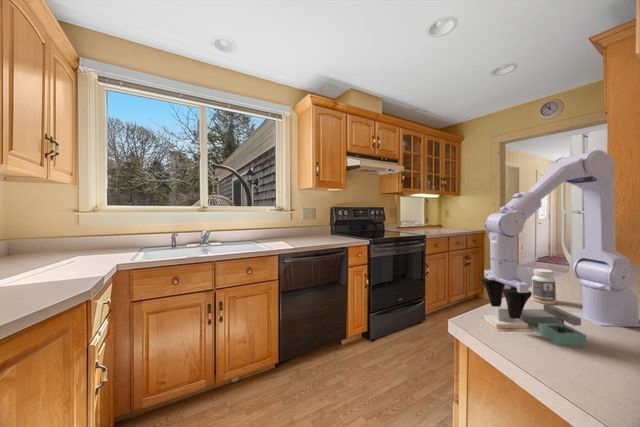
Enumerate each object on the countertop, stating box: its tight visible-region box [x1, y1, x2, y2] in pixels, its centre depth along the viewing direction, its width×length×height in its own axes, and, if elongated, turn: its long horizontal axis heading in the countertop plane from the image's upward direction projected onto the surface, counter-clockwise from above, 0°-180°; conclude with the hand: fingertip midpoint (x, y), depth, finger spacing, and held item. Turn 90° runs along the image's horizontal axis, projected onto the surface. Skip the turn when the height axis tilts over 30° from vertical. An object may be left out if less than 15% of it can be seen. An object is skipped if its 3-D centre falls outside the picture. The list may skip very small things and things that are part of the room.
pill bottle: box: [531, 268, 557, 305], centre depth 81 cm, size 6×6×10 cm
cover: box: [483, 306, 529, 328], centre depth 66 cm, size 7×5×4 cm
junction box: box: [520, 308, 558, 327], centre depth 67 cm, size 7×5×2 cm
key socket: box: [536, 323, 589, 347], centre depth 58 cm, size 6×6×2 cm
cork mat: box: [480, 316, 534, 332], centre depth 66 cm, size 8×8×1 cm
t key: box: [543, 303, 582, 333], centre depth 58 cm, size 8×2×6 cm, turn 175°
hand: (504, 311), depth 66 cm, fingers open, 7 cm apart
